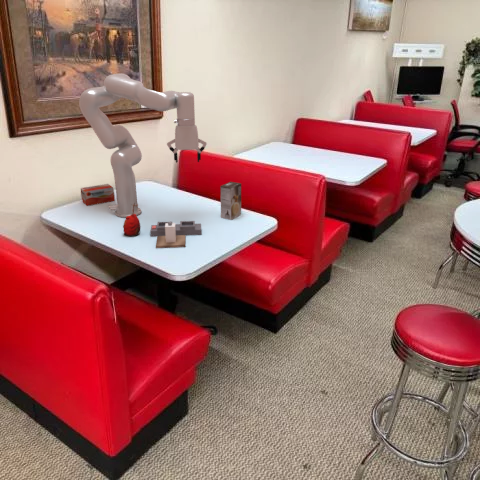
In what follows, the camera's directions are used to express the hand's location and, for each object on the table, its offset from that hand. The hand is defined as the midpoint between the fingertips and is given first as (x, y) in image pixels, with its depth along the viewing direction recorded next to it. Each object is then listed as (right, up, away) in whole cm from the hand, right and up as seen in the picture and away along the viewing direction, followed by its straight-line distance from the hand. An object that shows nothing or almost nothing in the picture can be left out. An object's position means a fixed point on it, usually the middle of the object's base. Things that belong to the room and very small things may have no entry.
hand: (187, 161), depth 193 cm
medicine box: (-51, -15, +35) cm, 64 cm away
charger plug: (-5, -35, -12) cm, 38 cm away
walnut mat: (-6, -36, -11) cm, 38 cm away
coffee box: (+19, -24, +17) cm, 35 cm away
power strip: (-5, -32, -2) cm, 32 cm away
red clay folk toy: (-24, -33, -4) cm, 40 cm away
